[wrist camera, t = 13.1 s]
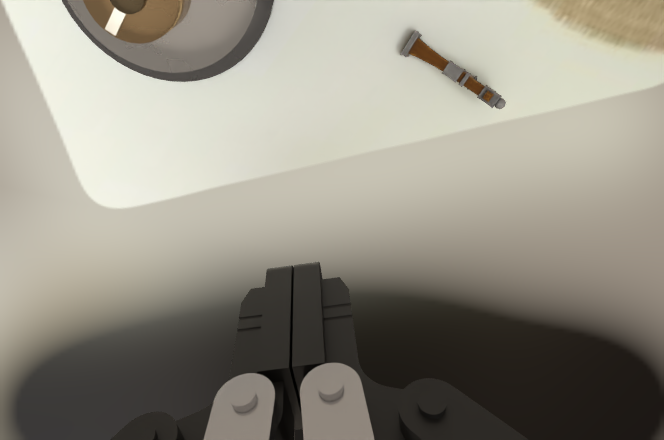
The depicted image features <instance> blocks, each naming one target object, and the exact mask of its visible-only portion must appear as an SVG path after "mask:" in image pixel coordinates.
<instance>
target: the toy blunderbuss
mask: <svg viewBox="0 0 664 440" xmlns="http://www.w3.org/2000/svg"><path fill="white" fill-rule="evenodd" d="M421 36H422V35H421V34H419V32H418V31H414V33H413V35H412V36H411V38H410V40H409V41H408V43H407V44H406V46H405V48H404V49H403V51H402V53H401V54H400V55H404V56H405V57H408V56H409V55H413V56H415V57H418V58H420V59H421V60H423V61H425V62H427V63H429V64H431V65H433V66H435V67H437V68H438V69H440V70H441V71H443V72H442V74H445V75H446V76H448V77H449V78H451V79H452V80H453V81H454V82H456V81H457V82H459V85H460V86H461V87H462V86H465V87H466V88H467V89H469V90H471V91H472V92H474V93H475V94H477V95H478V97H477V98H479V99H481V100H482V101H484V102H485V103H487V104H488V105H489V106H490V107H491V108H493V107H494V105H495V107H496V108H498V109H501V108H503V107H504V106H505V104H506V102H505V100H504V99H503V98H501V95H499V94H498V93H496V91H494V90H493V89H491V88H489V87H488V86H487V85H486V86H483V85H482V84H481V83H479V82H478V81H477V76H475V77H473V76H472V75H471V74H470V73H468V72H466V71H465V69H462V68H460V67H459V66H457V65H456V64H454V63H453V62H452V61H450V62H449V61H447V60H446V59H444V58H443V57H441V56H440V55H439V54H437V53H436V52H435V51H434V50H432V49H431V48H430V47H429V46H427V45H426V44H425V43H424V42H423V41H422V40H421V39H420V37H421Z"/></svg>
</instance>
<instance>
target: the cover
mask: <svg viewBox="0 0 664 440" xmlns="http://www.w3.org/2000/svg"><path fill="white" fill-rule="evenodd" d="M83 1H84V4H85V6H86V8H87V10H88V11H89V13H90V15H91V16H92V17H93V19H94V20H95V21H96V22H97V23H98V25H99V26H100V27H102V28H103V29H104V30H105V31H106V32H108V33H109V34H110V35H112V36H114V37H116V38H118V39H120V40H122V41H126V42H129V43H137V44H142V43H149V42H153V41H155V40H157V39H159V38H161V37H162V36H164V35H165V34H166V33H168V32H169V31H170V30H172V29H173V28H174V27H176V26H177V25H178V24H179V23H181V22H182V20H183V19H184V18H185V16H186V15H187V13H188V11H189V8H190V5H191V0H83Z"/></svg>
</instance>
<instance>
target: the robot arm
mask: <svg viewBox="0 0 664 440" xmlns="http://www.w3.org/2000/svg"><path fill="white" fill-rule="evenodd" d="M239 319H240V320H239V322H238V328H237V331H238V332H237V334H236V341H235V347H234V353H233V359H232V365H231V372H230V377H229V381H228V382H227V383H225V384H224V385H223V386H222V388H221V389H220V390H219V392H218V393H217V395H216V397H215V399H214V402H213V403H212V404H211V405H209V406H208V407H206V408H204V409H202V410H201V411H199V412H196V413H194V414H191V415H189V416H187V417H184V418H182V419H180V420H177V421H175V420H174V419H173V417H171V416H170V415H168V414H167V413H164V412H151V413H146V414H144V415H141V416H139V417H137V418H135V419H134V420H132V421H131V422H130V423H128V424H127V425H126V426H125V427H124V428H123V429H122V430H120V431H119V432H118V433H117V434H116V435H115V436H114V437H113V438H112V439H111V440H294V430H299V429H303V435H304V440H528V439H527V438H525V437H524V436H522V435H521V434H519V433H518V432H517V431H515V430H514V429H512V428H511V427H509V426H508V425H507V424H505V423H504V422H503V421H501V420H500V419H498V418H497V417H495V416H494V415H493V414H491V413H490V412H488V411H487V410H486V409H484V408H483V407H481V406H480V405H479V404H477V403H476V402H474V401H473V400H471V399H470V398H469V397H467V396H466V395H464V394H463V393H461V392H460V391H459V390H457V389H456V388H454V387H453V386H452V385H450V384H448V383H446V382H444V381H442V380H438V379H431V378H429V379H428V378H427V379H420V380H417V381H414V382H412V383H410V384H409V385H408V386H407V387H406V388H405V389H404V390H403V389H397V388H391V387H386V386H382V385H380V384H377V383H375V382H374V381H372V380H371V379H369V378H368V377H367V376H366V375H365V374H364V373H363V371H362V370H361V367H360V365H359V361H358V355H357V347H356V340H355V333H354V325H353V318H352V311H351V304H350V296H349V289H348V288H347V286H346V285H345V284H344V282H343V281H342V280H341V279H340V278H339V277H338V278H331V279H322V273H321V267H320V263H319V262H315V263H307V264H300V265H294V267H293V266H286V267H278V268H270V269H267V273H266V282H265V287H262V288H255V289H251V290H250V291H249V293H248V294H247V295H246V297H245V298H244V300H243V302H242V303H241V309H240V316H239Z"/></svg>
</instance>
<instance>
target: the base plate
mask: <svg viewBox="0 0 664 440" xmlns="http://www.w3.org/2000/svg"><path fill="white" fill-rule="evenodd" d="M273 1H274V0H257V5H256V9H255V12H254V15H253V18H252V20H251V22H250V24H249V26H248V28H247V30H246V32H245V34H244V35H243V37H242V38H241V40H240V41H239V43H238V44H237V45H236V46H235V47H234V48H233V49H232V50H231V51H230V52H229V53H228V54H227V55H225V56H224V57H223V58H222V59H220V60H218V61H217V62H215V63H213V64H212V65H209V66H207V67H204V68H202V69H198V70H194V71H190V72H181V73H169V72H161V71H154V70H151V69H147V68H144V67H141V66H138V65H136V64H134V63H131V62H129V61H127V60H125V59H124V58H122V57H120V56H118V55H117V54H115V53H114V52H112V51H111V50H109V49H108V48H107V47H105V46H104V45H103V44H102V43H101V42H100V41H98V40H97V39H96V38H95V37H94V36H93V35H92V34H91V33H90V32H89V31H88V30H87V29H86V27H85V26H84V25H83V24H82V22H81V21H80V20H79V18H78V17H77V16H76V14H75V13H74V11H73V10H72V8H71V6H70V5H69V3H68V1H67V0H62V2H63V4H64V5H65V7H66V8H67V10H68V12H69V13H70V15H71V17H72V18H73V19H74V21H75V22H76V23H77V24H78V26H79V27H80V28H81V30H82V31H83V32H84V33H85V34H86V35H87V36H88V37H89V38H90V39H91V41H92V42H93V43H94V44H96V45H97V46H98V47H99V48H100V49H101V50H102V51H104V52H105V53H106V54H107V55H109V56H110V57H112V58H113V59H115V60H116V61H117V62H119V63H121V64H123V65H124V66H126V67H128V68H130V69H132V70H134V71H136V72H139V73H141V74H143V75H146V76H150V77H153V78H157V79H162V80H168V81H181V82H186V81H197V80H202V79H206V78H210V77H213V76H215V75H218V74H220V73H222V72H224V71H226V70H228V69H230V68H231V67H233V66H234V65H235V64H237V63H238V62H239V61H241V60H242V59H243V58H244V57H245V56H246V55H247V54H248V53H249V52H250V51H251V50H252V48H253V47H254V45H255V44H256V43H257V41H258V40H259V38H260V36H261V35H262V33H263V31H264V29H265V27H266V24H267V22H268V19H269V16H270V13H271V9H272V5H273Z"/></svg>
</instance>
